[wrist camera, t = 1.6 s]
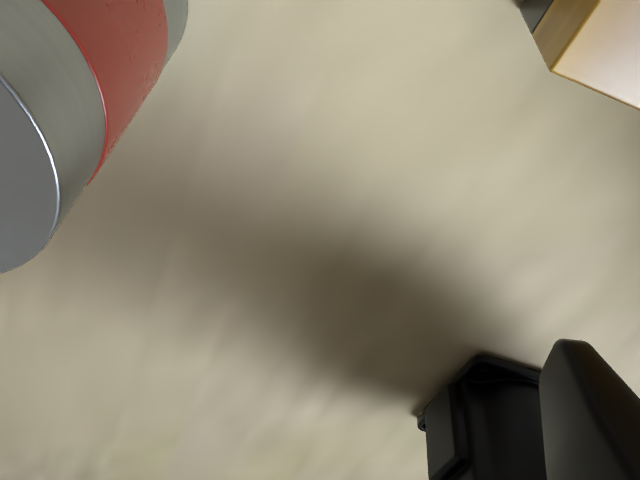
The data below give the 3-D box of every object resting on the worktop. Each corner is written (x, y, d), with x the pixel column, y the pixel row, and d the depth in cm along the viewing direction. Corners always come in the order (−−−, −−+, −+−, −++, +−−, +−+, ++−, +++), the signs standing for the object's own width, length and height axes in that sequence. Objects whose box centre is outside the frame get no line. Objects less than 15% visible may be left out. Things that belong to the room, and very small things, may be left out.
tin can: (213, -81, 17) (81, 64, 10) (166, 110, 22) (48, 316, 14) (-24, -184, 16) (-384, -111, 9) (-25, 39, 20) (-268, 221, 13)
